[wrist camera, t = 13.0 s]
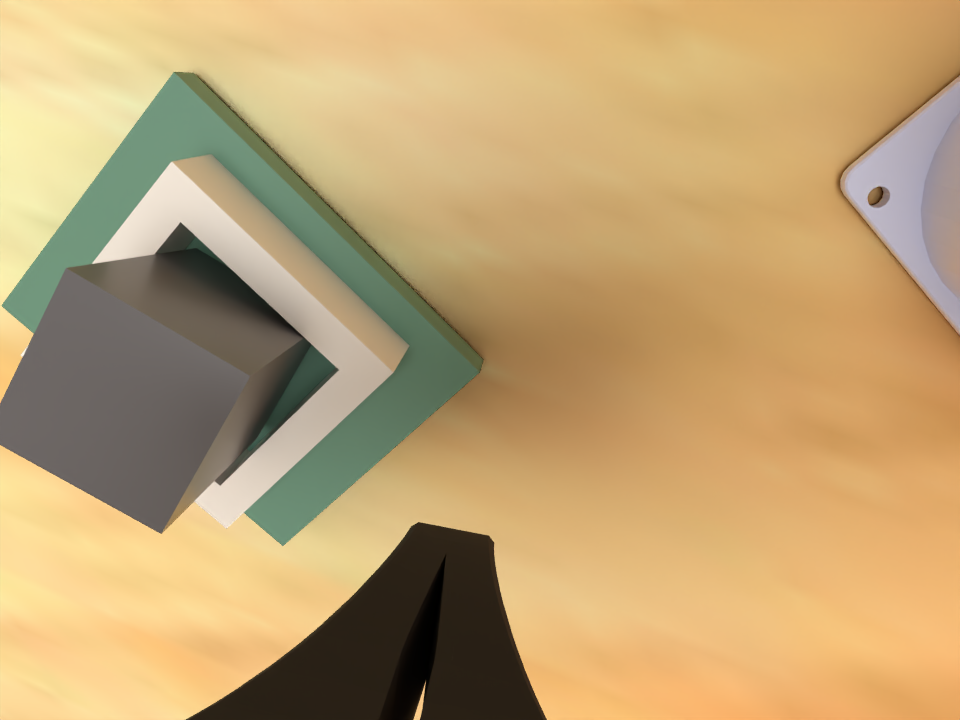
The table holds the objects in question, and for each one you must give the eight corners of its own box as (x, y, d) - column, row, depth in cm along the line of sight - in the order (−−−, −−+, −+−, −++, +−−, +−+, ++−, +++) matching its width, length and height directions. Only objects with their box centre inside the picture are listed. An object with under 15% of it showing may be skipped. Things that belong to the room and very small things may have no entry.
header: (409, 345, 20) (393, 372, 18) (255, 491, 22) (226, 528, 20) (211, 154, 18) (171, 161, 16) (69, 331, 21) (20, 355, 19)
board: (483, 359, 21) (479, 372, 20) (293, 527, 23) (282, 546, 23) (193, 72, 19) (173, 71, 18) (25, 296, 21) (1, 305, 21)
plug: (322, 324, 20) (250, 376, 14) (231, 482, 21) (128, 592, 15) (196, 247, 19) (66, 267, 13) (109, 413, 20) (-46, 498, 14)
